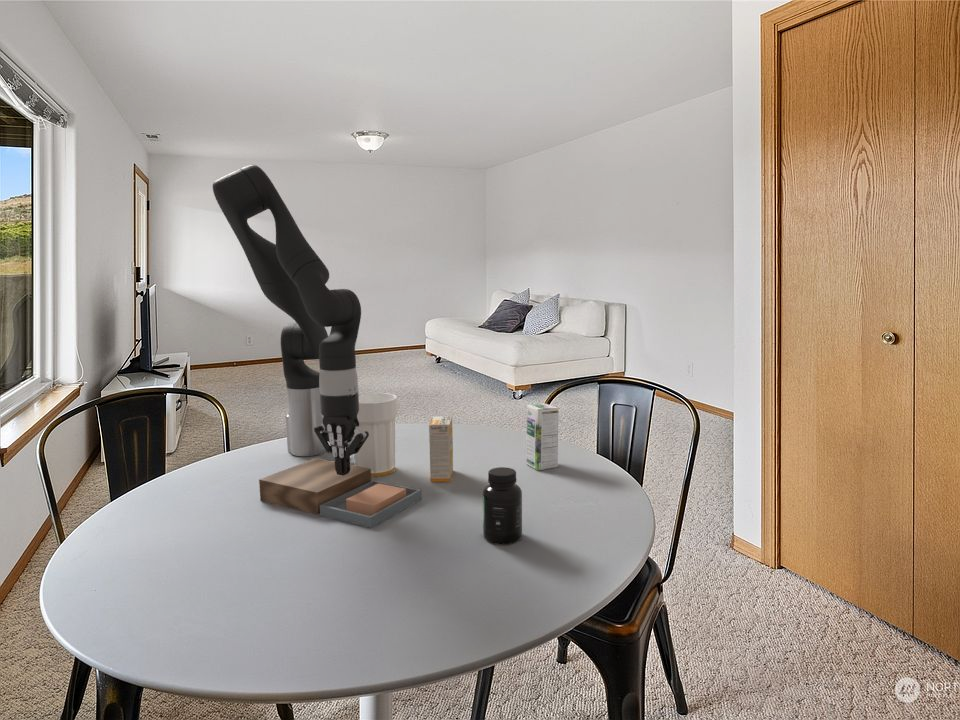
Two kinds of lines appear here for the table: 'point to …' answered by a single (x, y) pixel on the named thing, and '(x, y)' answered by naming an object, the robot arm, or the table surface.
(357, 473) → the walnut platform
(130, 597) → the table surface
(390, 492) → the terracotta tile
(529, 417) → the syrup box
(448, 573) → the table surface
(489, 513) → the supplement bottle
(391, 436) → the cup
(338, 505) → the slate tray
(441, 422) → the supplement box
